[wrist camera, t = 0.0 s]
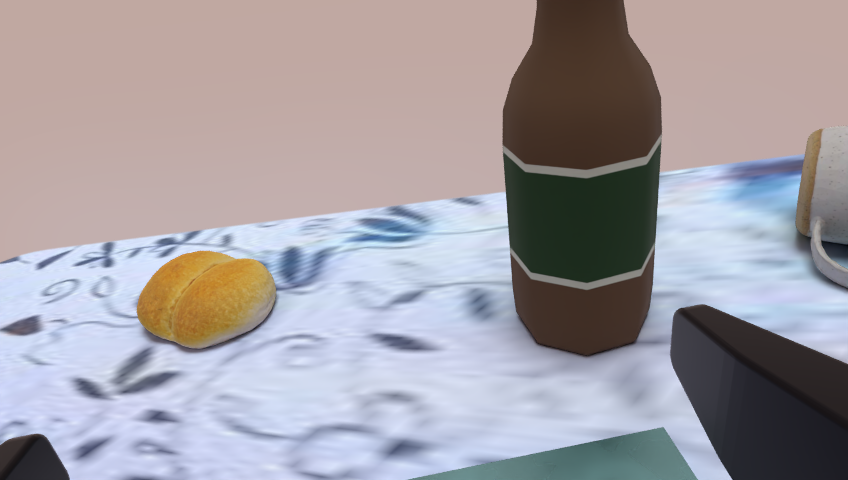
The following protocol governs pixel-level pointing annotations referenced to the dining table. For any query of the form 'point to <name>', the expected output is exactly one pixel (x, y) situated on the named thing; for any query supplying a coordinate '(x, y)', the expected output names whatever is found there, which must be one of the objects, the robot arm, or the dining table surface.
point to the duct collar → (589, 462)
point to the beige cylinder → (825, 197)
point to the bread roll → (206, 299)
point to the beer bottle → (582, 178)
